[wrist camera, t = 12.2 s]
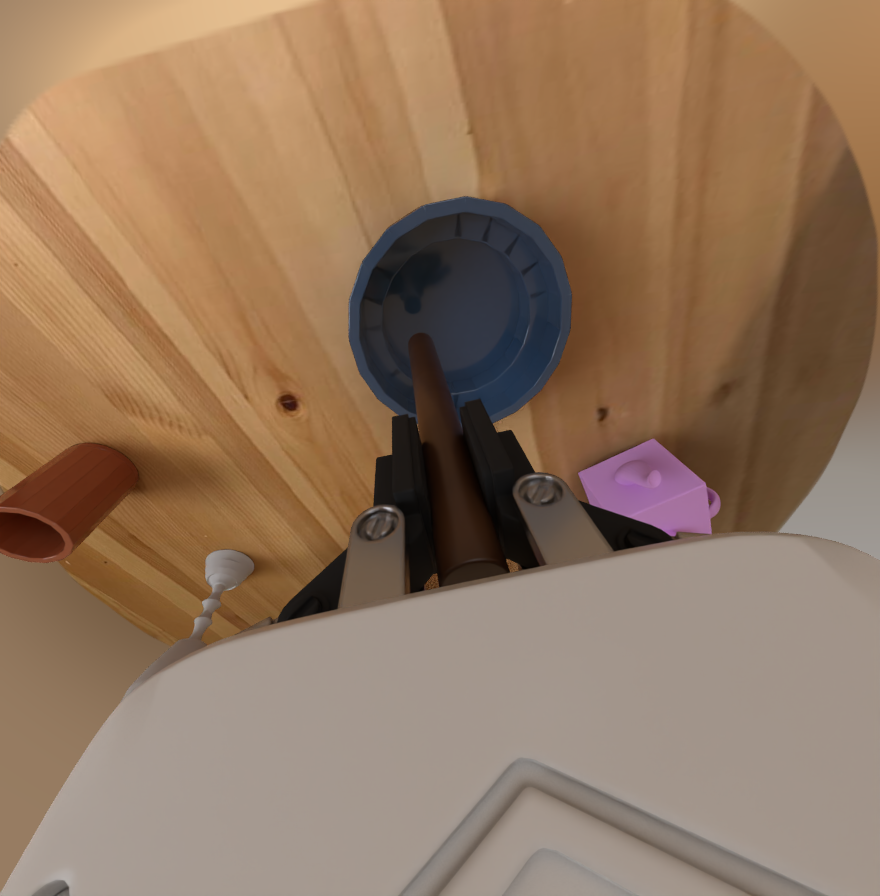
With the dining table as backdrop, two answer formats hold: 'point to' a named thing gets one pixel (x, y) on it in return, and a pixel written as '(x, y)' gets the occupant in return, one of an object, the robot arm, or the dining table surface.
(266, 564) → the dining table surface
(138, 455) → the dining table surface
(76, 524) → the crock
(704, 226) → the dining table surface
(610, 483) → the teapot
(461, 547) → the stick
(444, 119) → the dining table surface
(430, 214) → the bowl
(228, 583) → the chalice
